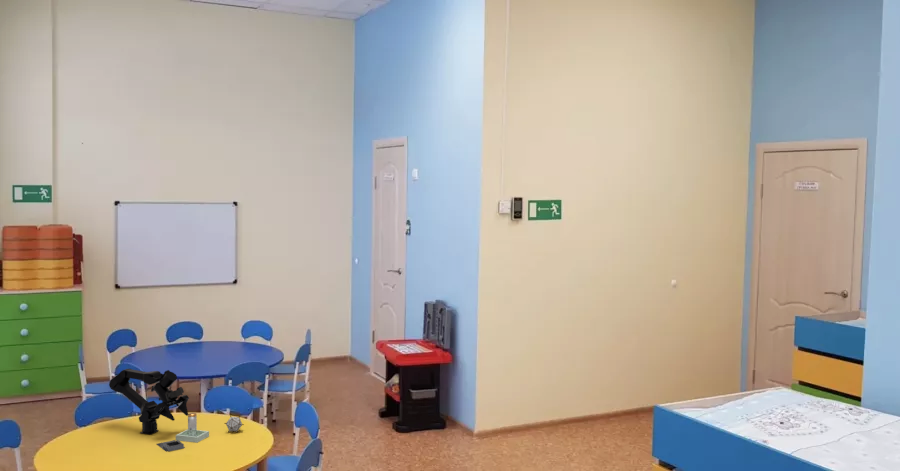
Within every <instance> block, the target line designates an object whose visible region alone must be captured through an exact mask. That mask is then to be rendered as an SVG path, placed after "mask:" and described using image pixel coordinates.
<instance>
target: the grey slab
mask: <svg viewBox="0 0 900 471" xmlns="http://www.w3.org/2000/svg"><path fill="white" fill-rule="evenodd" d="M155 445H156V446H158V447H159V448H160V449H162V450H163V451H164V452H173V451H178V450H182V449H186V447H185V444H184V443H182V441H178V440H176V439H174V440H169V441H163V442H159V443H156V444H155Z"/></svg>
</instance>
